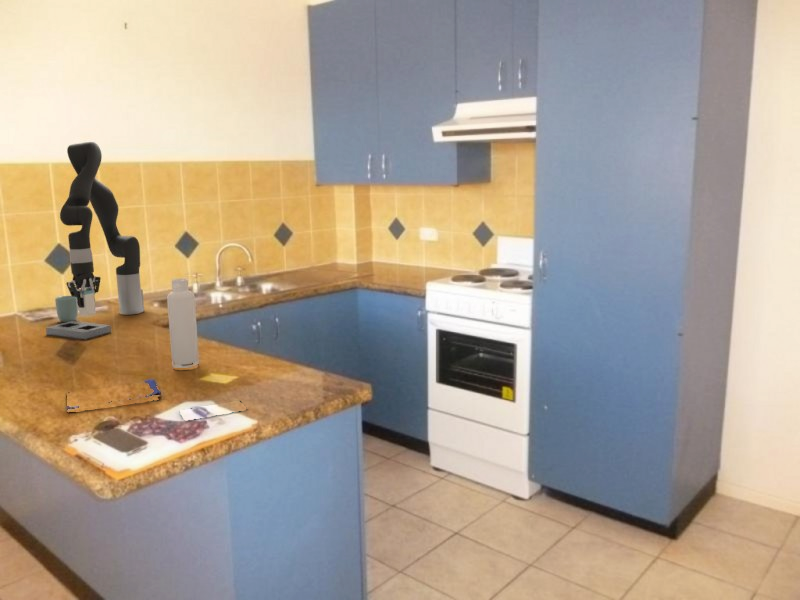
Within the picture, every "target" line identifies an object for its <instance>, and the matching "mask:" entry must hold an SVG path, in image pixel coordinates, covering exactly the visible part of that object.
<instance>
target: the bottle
mask: <svg viewBox="0 0 800 600" xmlns="http://www.w3.org/2000/svg"><path fill="white" fill-rule="evenodd" d="M195 298H196V297H195V294H194V292H193V291H191V290H189V279H188V278H183V277H181V278H173V279H171V291H170V292H169V293H168V294H167V297H166V302H167V315H168V316H167V317H168V327H169V328H168V329H169V340H170V342H169V343H170V350H171V351H170V352H171V361H172V363H171V367H172V366H173V367H174V368H188V367H192V366H195V365H197V364H199V365H200V360H199V358H200V357H199V355H200V354H199V342H198V328H197V314H196V313H197V312H196V299H195ZM192 363H193V364H192ZM174 364H175V365H174Z"/></svg>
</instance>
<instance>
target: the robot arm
mask: <svg viewBox="0 0 800 600" xmlns="http://www.w3.org/2000/svg"><path fill="white" fill-rule="evenodd" d="M66 150H67V151H66V152H67V157H68V159H69V161H70V164H71V166H72V168H73V169H74V172H75V173H76V176H75V178H73V180H72V181H71V184H70V188H69V193H68V197H67V199H66V201H65V202H64V204H63V205H62V207H61V209H60V212H59V217H60V221H61V223H62V224H63V225H65V226H69V227H71V226H81V229H80V230H78V231H72V232H70V233H69V234H68V236H67V237H68V245H69V262H70V270H71V275H72V280H70V281H67V282H66V283H65V285H66V287H67V289H68V291H69V293H70V296H72V297H76V298H77V304H78V306H79V307H80V308H83V307H84V298H82V297H83V292H84V291H85V290H93V291H94V301H95V302H96V298H95V295H96V294H97V293H99V291H100V284H101V277H100V276H95V275H94V272H95V271H94V269H95V268H94V259H93V253H92V247H91V239H90V238H91V227H92V221H93V214H94V213H95V215H96V217H97V220H98V221H99V224H100V227H101V228H102V232H103V234H104V235H103V236H104V237H105V241H106V243H107V247H108V249H109V252H110V254H112V256H114V257H116V258H121V259H122V258H123V259H124V261H123V262H124V263H123V264H121V265H119V266H116V267H115V275H116V284H117V285H116V286H117V297H118V306H119V314H120V315H124V316H125V315H126V316H127V315H128V316H129V315H138V314H141V313H143V312H145V301H144V291H143V289H142V288H141V276H140V267H141V249H140V247H141V246H140V242H139V239H137V238H136V237H135V236H132V235H121V233H120V231H119V228H118V226H117V221H118V220H117V219H118V215H119V205H118V202H117V199H116V197H115V195H114V193H113V191H112V190H111V189H110V188H109V187H108V186H106V185H105V184H104V183H102V182H101V181H100V180H98V179H97V178H96V176H97V174H98V171H99V169H100V166H101V162H102V160H103V159H102V156H103V155H102V150H101V148H100V146H99V145H98V144H97V143H96V141H84V142H80V143H73V144H70V145H68V146H67V148H66ZM89 204H91V207H92V209H93V211H94V213H93V211H92V209H91V208H90V206H88V205H89ZM79 292H80V294H79Z"/></svg>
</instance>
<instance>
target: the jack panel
mask: <svg viewBox="0 0 800 600" xmlns="http://www.w3.org/2000/svg"><path fill="white" fill-rule="evenodd" d="M45 333H46V336H50V337H56V338H65V339H72V340H73V339H74V340H80V341H88V340H92V339H95V338H98V337H102V336H106V335H108V334H112V326H111V325H109V324H102V323H96V322H95V323H93V322H86V321H85V322H84V321H77V320H75V321H70V322H62V323H58V324H54V325H50V326H46V327H45Z"/></svg>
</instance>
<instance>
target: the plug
mask: <svg viewBox="0 0 800 600" xmlns="http://www.w3.org/2000/svg"><path fill="white" fill-rule="evenodd" d="M79 294H80V292H79ZM94 297H95V295H94V291H93V290H86V289H85V291H84V292H83V297H82V298H84V307H83V308H80V307H79V306H78V316H85V317H88V316H92V315H96V314H97V312H96V303H95V302H96V300H95V301H94Z"/></svg>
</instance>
